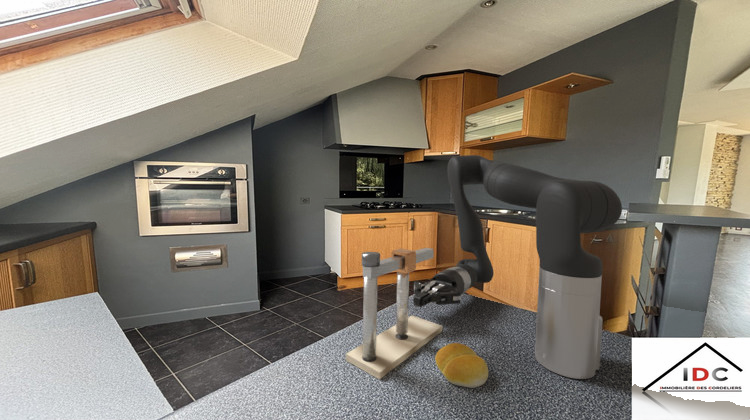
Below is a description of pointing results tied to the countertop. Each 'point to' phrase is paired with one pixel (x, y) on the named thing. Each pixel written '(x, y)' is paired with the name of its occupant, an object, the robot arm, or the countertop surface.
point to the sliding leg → (403, 289)
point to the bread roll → (461, 365)
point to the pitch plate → (395, 346)
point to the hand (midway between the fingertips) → (416, 302)
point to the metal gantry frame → (370, 273)
